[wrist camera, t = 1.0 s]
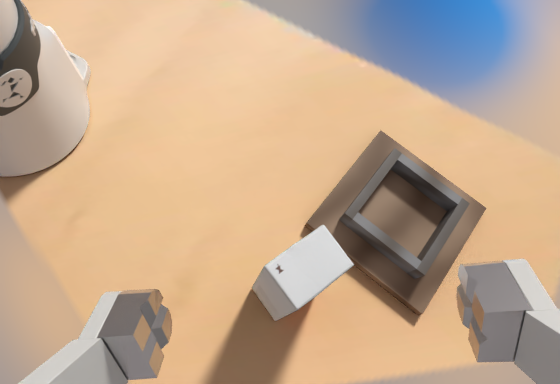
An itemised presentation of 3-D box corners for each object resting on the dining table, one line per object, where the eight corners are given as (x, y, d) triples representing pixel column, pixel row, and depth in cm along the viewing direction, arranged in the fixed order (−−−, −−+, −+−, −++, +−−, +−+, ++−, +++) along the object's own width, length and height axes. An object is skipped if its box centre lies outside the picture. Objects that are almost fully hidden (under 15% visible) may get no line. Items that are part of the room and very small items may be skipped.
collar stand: (304, 225, 46) (311, 215, 42) (377, 135, 51) (388, 120, 48) (417, 314, 44) (433, 311, 41) (480, 211, 49) (499, 201, 46)
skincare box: (275, 323, 42) (295, 312, 31) (250, 287, 43) (261, 265, 32) (321, 286, 44) (356, 264, 33) (297, 253, 45) (322, 221, 34)
